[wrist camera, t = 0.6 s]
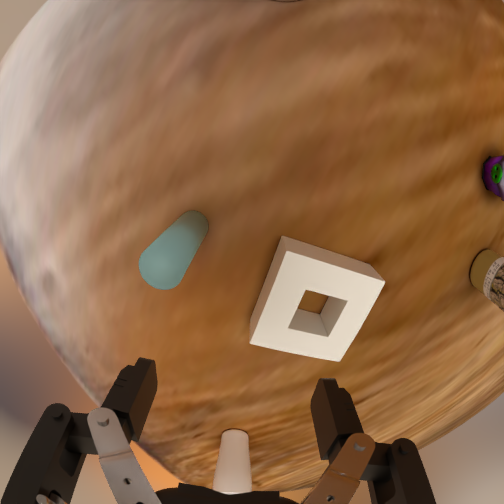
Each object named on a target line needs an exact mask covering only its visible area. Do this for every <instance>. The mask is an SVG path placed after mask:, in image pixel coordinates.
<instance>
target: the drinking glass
mask: <svg viewBox="0 0 504 504" xmlns="http://www.w3.org/2000/svg"><path fill="white" fill-rule="evenodd" d="M213 490H215V491H218V492H221V493H224V494H229V495H231V494H239V493H246V492H252V476H251V466H250V455H249V437H248V434H247V433H246V432H244V431H242V430H237V429H231V430H227V431H225V432H223V434H222V438H221V445H220V450H219V455H218V460H217V464H216V469H215V474H214V480H213Z"/></svg>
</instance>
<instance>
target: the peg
mask: <svg viewBox="0 0 504 504" xmlns="http://www.w3.org/2000/svg"><path fill="white" fill-rule="evenodd" d="M207 232H208V221H207V219H206V217H205V216H204V215H203V214H202V213H200V212H198V211H187V212H185V213H184V214H183V215H181V216H180V217H179V218H178V219H177V220H176V221H175V222H174V223H173V224H172V225H171V226H170V227H168V228H167V229H166V230H165V231H164V232H163V233H162V234H161V235H160V236H159V237H158V238H157V239H156V240H155V241H154V242H153V243H152V244H151V245H150V246H149V247H148V248H147V249H146V250H145V251H144V252H143V253H142V254H141V256H140V259H139V270H140V273H141V275H142V277H143V279H144V280H145V281H146V282H147V283H148V284H149V285H151V286H152V287H154V288H157V289H161V290H167V289H171V288H174V287H175V286H177V285H178V284H179V283H180V281H181V280H182V278H183V276H184V274H185V272H186V270H187V268H188V266H189V265H190V263H191V261H192V259H193V257H194V255H195V254H196V252H197V250H198V248H199V246H200V244H201V243H202V241H203V239H204V237H205V236H206V234H207Z"/></svg>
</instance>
